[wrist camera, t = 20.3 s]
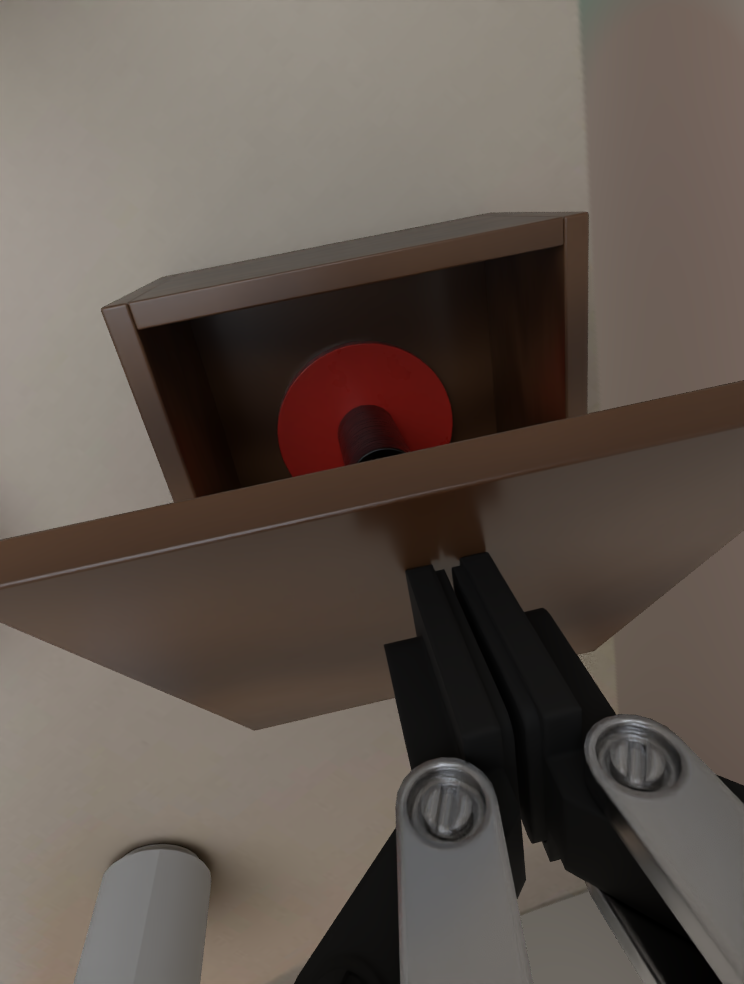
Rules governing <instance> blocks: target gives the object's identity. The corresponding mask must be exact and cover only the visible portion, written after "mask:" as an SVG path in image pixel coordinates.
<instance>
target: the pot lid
mask: <svg viewBox="0 0 744 984" xmlns="http://www.w3.org/2000/svg"><path fill="white" fill-rule="evenodd" d="M452 427H453V419H452V410H451V404H450V401H449V398H448V395H447V392H446V390H445V388H444V386H443V384H442V382H441V381H440V380H439V378H438V377H437V375H436V374H435V373H434V372H433V371H432V369H431V368H430V367H429V366H428V365H427V364H426V363H425V362H424V361H422V360H421V359H420V358H419V357H417V356H416V355H414V354H413V353H411V352H409V351H408V350H406V349H403V348H401V347H399V346H396V345H393V344H389V343H385V342H378V341H357V342H349V343H346V344H342V345H338V346H336V347H333V348H331V349H329V350H326V351H325V352H323V353H321V354H319V355H318V356H316V357H315V358H313V359H312V360H311V361H310V362H308V363H307V364H306V365H305V366H304V367H303V368H302V369H301V370H300V371H299V372H298V373H297V375H296V376H295V377H294V379H293V380H292V381H291V383H290V385H289V386H288V388H287V390H286V392H285V394H284V397H283V399H282V402H281V405H280V410H279V414H278V425H277V432H278V443H279V448H280V452H281V455H282V458H283V461H284V463H285V465H286V467H287V469H288V471H289V472H290V474H291V475H292V476H293V477H296V476H300V475H305V474H310V473H314V472H319V471H323V470H328V469H333V468H337V467H342V466H347V465H351V464H356V463H361V462H365V461H370V460H375V459H379V458H384V457H389V456H393V455H398V454H403V453H407V452H412V451H417V450H421V449H426V448H431V447H435V446H440V445H445V444H449V443H450V441H451V437H452Z"/></svg>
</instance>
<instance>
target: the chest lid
mask: <svg viewBox="0 0 744 984" xmlns="http://www.w3.org/2000/svg"><path fill="white" fill-rule="evenodd" d="M742 531H744V380H743V381H738V382H734V383H729V384H724V385H719V386H715V387H710V388H706V389H701V390H696V391H692V392H687V393H683V394H678V395H673V396H669V397H664V398H659V399H655V400H650V401H645V402H641V403H636V404H631V405H627V406H622V407H617V408H612V409H608V410H603V411H598V412H594V413H589V414H584V415H580V416H575V417H570V418H566V419H561V420H556V421H552V422H547V423H542V424H538V425H533V426H528V427H524V428H519V429H515V430H510V431H505V432H501V433H496V434H491V435H487V436H482V437H477V438H473V439H468V440H463V441H459V442H454V443H449V444H445V445H440V446H435V447H431V448H426V449H421V450H417V451H412V452H407V453H403V454H398V455H393V456H389V457H384V458H379V459H375V460H370V461H365V462H361V463H356V464H351V465H347V466H342V467H337V468H333V469H328V470H323V471H319V472H314V473H310V474H305V475H300V476H296V477H291V478H286V479H282V480H277V481H272V482H268V483H263V484H258V485H254V486H249V487H244V488H240V489H235V490H230V491H226V492H221V493H216V494H212V495H207V496H202V497H198V498H193V499H188V500H184V501H179V502H174V503H170V504H165V505H160V506H156V507H151V508H146V509H142V510H137V511H132V512H128V513H123V514H119V515H114V516H109V517H105V518H100V519H95V520H91V521H86V522H81V523H77V524H72V525H67V526H63V527H58V528H53V529H49V530H44V531H39V532H35V533H30V534H25V535H21V536H16V537H11V538H7V539H2V540H0V623H3V624H5V625H7V626H10V627H12V628H15V629H17V630H19V631H22V632H24V633H26V634H29V635H31V636H33V637H36V638H38V639H40V640H43V641H45V642H47V643H50V644H52V645H55V646H57V647H59V648H62V649H64V650H66V651H69V652H71V653H73V654H76V655H78V656H80V657H83V658H85V659H87V660H90V661H92V662H94V663H97V664H99V665H102V666H104V667H106V668H109V669H111V670H113V671H116V672H118V673H120V674H123V675H125V676H127V677H130V678H132V679H134V680H137V681H139V682H142V683H144V684H146V685H149V686H151V687H153V688H156V689H158V690H160V691H163V692H165V693H167V694H170V695H172V696H174V697H177V698H179V699H182V700H184V701H186V702H189V703H191V704H193V705H196V706H198V707H200V708H203V709H205V710H207V711H210V712H212V713H214V714H217V715H219V716H221V717H224V718H226V719H229V720H231V721H233V722H236V723H238V724H240V725H243V726H245V727H247V728H250V729H252V730H259V729H264V728H268V727H272V726H276V725H281V724H285V723H289V722H293V721H298V720H302V719H306V718H310V717H315V716H319V715H323V714H327V713H332V712H336V711H340V710H344V709H349V708H353V707H357V706H361V705H366V704H370V703H374V702H379V701H383V700H387V699H391V698H395V695H394V690H393V686H392V681H391V677H390V672H389V667H388V663H387V658H386V654H385V649H384V644H388V643H392V642H396V641H401V640H405V639H409V638H414V637H417V636H416V630H415V624H414V619H413V613H412V608H411V602H410V596H409V591H408V585H407V580H406V573H405V571H406V570H409V569H414V568H418V567H422V566H427V565H431V564H432V565H433V567H434V569H435V571H438V570H442V569H444V570H445V572H446V574H447V576H448V578H449V581H450V583H451V585H452V587H453V579H452V567H455V566H460V558H462V557H467V556H471V555H475V554H480V553H484V552H488V553H489V554H490V556H491V558H492V559H493V561H494V563H495V564H496V566H497V568H498V569H499V571H500V573H501V574H502V576H503V578H504V579H505V581H506V583H507V584H508V586H509V588H510V589H511V591H512V593H513V594H514V596H515V598H516V600H517V601H518V603H519V605H520V606H521V608H522V610H523V611H524V612H526V611H530V610H534V609H539V608H544V609H546V610H547V611H548V612H549V613H550V615H551V616H552V618H553V619H554V621H555V622H556V624H557V625H558V627H559V628H560V630H561V631H562V633H563V634H564V636H565V637H566V639H567V641H568V642H569V644H570V645H571V647H572V648H573V650H574V651H575V653H576V654H577V655H578V654H583V653H587V652H591V651H594V650H596V649H597V648H598V647H599V646H601V645H602V644H603V643H604V642H606V641H607V640H608V639H609V638H611V637H612V636H613V635H614V634H616V633H617V632H618V631H619V630H620V629H622V628H623V627H624V626H625V625H627V624H628V623H629V622H630V621H632V620H633V619H634V618H635V617H637V616H638V615H639V614H640V613H642V612H643V611H644V610H645V609H647V608H648V607H649V606H650V605H651V604H653V603H654V602H655V601H656V600H658V599H659V598H660V597H661V596H663V595H664V594H665V593H666V592H668V591H669V590H670V589H671V588H673V587H674V586H675V585H676V584H677V583H679V582H680V581H681V580H682V579H684V578H685V577H686V576H688V575H689V574H690V573H691V572H692V571H694V570H695V569H696V568H698V567H699V566H700V565H701V564H703V563H704V562H705V561H706V560H707V559H709V558H710V557H711V556H712V555H714V554H715V553H716V552H717V551H719V550H720V549H721V548H722V547H724V545H726V544H727V543H728V542H730V541H731V540H732V539H734V538H735V537H736V536H737V535H738V534H740V533H741V532H742ZM453 590H454V587H453Z"/></svg>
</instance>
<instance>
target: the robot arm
mask: <svg viewBox="0 0 744 984" xmlns="http://www.w3.org/2000/svg"><path fill="white" fill-rule="evenodd" d="M405 573H406V580H407V585H408V591H409V596H410V602H411V608H412V613H413V619H414V624H415V630H416V636H417V637H414V638H409V639H405V640H401V641H396V642H392V643H388V644H384V649H385V654H386V658H387V663H388V667H389V672H390V677H391V681H392V686H393V690H394V695H395V699H396V704H397V708H398V713H399V717H400V722H401V726H402V730H403V735H404V739H405V744H406V748H407V753H408V757H409V762H410V766H411V770H412V771H411V772H410V773H409V774H408V775H407V776H406V777H405V778H404V780H403V782H402V784H401V786H400V788H399V790H398V792H397V800H396V828H395V830H394V831H393V833H392V834H391V836H390V837H389V839H388V840H387V842H386V843H385V845H384V846H383V848H382V849H381V851H380V852H379V854H378V855H377V857H376V858H375V860H374V861H373V863H372V865H371V866H370V868H369V869H368V871H367V872H366V874H365V875H364V877H363V878H362V880H361V881H360V883H359V884H358V886H357V887H356V889H355V890H354V892H353V893H352V895H351V896H350V898H349V899H348V901H347V902H346V904H345V905H344V907H343V908H342V910H341V911H340V913H339V914H338V916H337V918H336V919H335V921H334V922H333V924H332V925H331V927H330V928H329V930H328V931H327V933H326V934H325V936H324V937H323V939H322V940H321V942H320V943H319V945H318V946H317V948H316V949H315V951H314V952H313V954H312V955H311V957H310V958H309V960H308V961H307V963H306V964H305V966H304V968H303V969H302V971H301V972H300V974H299V975H298V977H297V979H296V981H295V983H294V984H533V979H532V974H531V969H530V964H529V959H528V954H527V948H526V943H525V939H524V934H523V928H522V923H521V918H520V913H519V908H518V902H517V899H518V896H519V894H520V892H521V890H522V887H523V885H524V883H525V881H526V875H525V862H524V850H523V838H522V826H521V820H522V822H523V825H524V827H525V830H526V832H527V835H528V837H529V839H530V841H531V843H532V844H533V843H537V842H541V841H542V843H543V845H544V848H545V850H546V853H547V855H548V858H549V860H550V862H552V861H556V860H560V859H561V861H562V863H563V865H564V868H565V870H567V871H568V872H570V873H572V874H574V875H575V876H577V877H579V878H581V879H583V880H584V881H585V883H586V886H587V888H588V890H589V892H590V895H591V897H592V899H593V900H594V902H595V903H596V905H597V907H598V909H599V910H600V912H601V914H602V915H603V917H604V919H605V920H606V922H607V924H608V925H609V927H610V929H611V930H612V932H613V934H614V935H615V937H616V939H617V940H618V942H619V943H620V945H621V947H622V949H623V950H624V952H625V954H626V955H627V957H628V959H629V960H630V962H631V964H632V965H633V967H634V969H635V970H636V972H637V974H638V975H639V977H640V979H641V980H642V982H643V984H744V786H743V785H741V784H738V783H736V782H733V781H730V780H728V779H726V778H723V777H721V776H718V775H716V774H714V773H713V772H712V770H711V769H710V768H709V767H708V766H707V765H706V764H705V763H704V762H703V761H702V760H701V759H700V758H699V757H698V756H697V755H696V754H695V753H694V752H693V751H692V750H691V749H690V748H689V747H688V746H687V745H686V743H685V742H683V740H682V739H681V738H680V737H679V736H677V735H676V734H675V733H674V732H672V731H671V730H670V729H669V728H668V727H666V726H664V725H662V724H660V723H658V722H656V721H654V720H652V719H649V718H646V717H642V716H638V715H628V714H618V715H616V714H615V712H614V710H613V709H612V707H611V706H610V704H609V703H608V701H607V700H606V698H605V697H604V695H603V694H602V692H601V691H600V689H599V688H598V686H597V685H596V683H595V682H594V680H593V679H592V677H591V675H590V674H589V672H588V671H587V669H586V668H585V666H584V665H583V663H582V662H581V660H580V659H579V657H578V656H577V654H576V653H575V651H574V650H573V648H572V647H571V645H570V644H569V642H568V641H567V639H566V637H565V636H564V634H563V633H562V631H561V630H560V628H559V627H558V625H557V624H556V622H555V621H554V619H553V618H552V616H551V615H550V613H549V612H548V611H547V610H546V609H544V608H539V609H534V610H530V611H526V612H524V611H523V610H522V608H521V606H520V605H519V603H518V601H517V600H516V598H515V596H514V594H513V593H512V591H511V589H510V588H509V586H508V584H507V583H506V581H505V579H504V578H503V576H502V574H501V573H500V571H499V569H498V568H497V566H496V564H495V563H494V561H493V559H492V558H491V556H490V554H489V553H488V552H484V553H480V554H475V555H471V556H467V557H462V558H460V566H455V567H452V579H453V587H454V590H453V587H452V585H451V583H450V581H449V578H448V576H447V574H446V572H445V570H444V569H442V570H438V571H435V569H434V567H433V565H432V564H431V565H427V566H422V567H418V568H414V569H409V570H406V571H405Z"/></svg>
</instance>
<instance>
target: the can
mask: <svg viewBox="0 0 744 984" xmlns="http://www.w3.org/2000/svg"><path fill="white" fill-rule="evenodd" d="M210 889H211V874H210V870H209V869H208V868H207V866H206V865H205V864H204V862H202V861H201V860H200V859H199V858H198V857H197V855H196V854H194V853H193V852H191V851H190V850H188V849H186V848H183V847H180V846H177V845H169V844H156V845H147V846H144V847H141V848H138V849H135V850H133V851H131V852H130V853H128V854H126V855H125V856H124V857H123V858H122V859H120V860H118V861H116V862H115V863H113V864H112V865H111V866H110V867H109V868H108V869H107V871H106V872H105V873H104V875H103V879H102V882H101V886H100V889H99V893H98V896H97V900H96V904H95V907H94V911H93V915H92V918H91V922H90V926H89V929H88V933H87V937H86V940H85V944H84V947H83V951H82V955H81V958H80V962H79V966H78V969H77V973H76V977H75V980H74V984H200V980H201V971H202V962H203V953H204V944H205V935H206V926H207V916H208V907H209V898H210Z"/></svg>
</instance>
